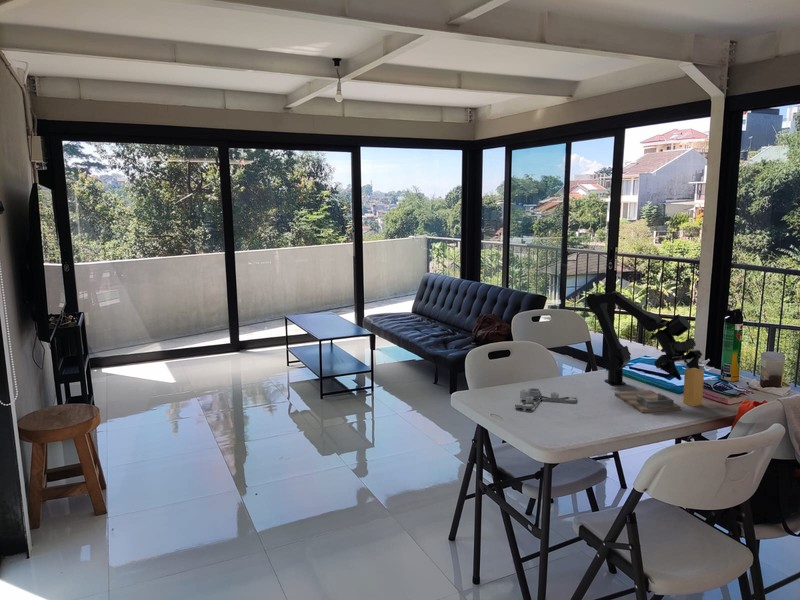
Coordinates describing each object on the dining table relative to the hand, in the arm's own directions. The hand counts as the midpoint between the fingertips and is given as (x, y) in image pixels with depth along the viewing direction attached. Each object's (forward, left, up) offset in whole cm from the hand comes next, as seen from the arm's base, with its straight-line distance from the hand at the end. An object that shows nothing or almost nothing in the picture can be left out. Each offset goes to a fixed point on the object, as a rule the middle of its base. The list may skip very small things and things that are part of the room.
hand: (690, 378), depth 219 cm
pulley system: (-13, -53, -10) cm, 55 cm away
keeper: (-3, -15, -9) cm, 18 cm away
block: (+2, 0, -9) cm, 9 cm away
